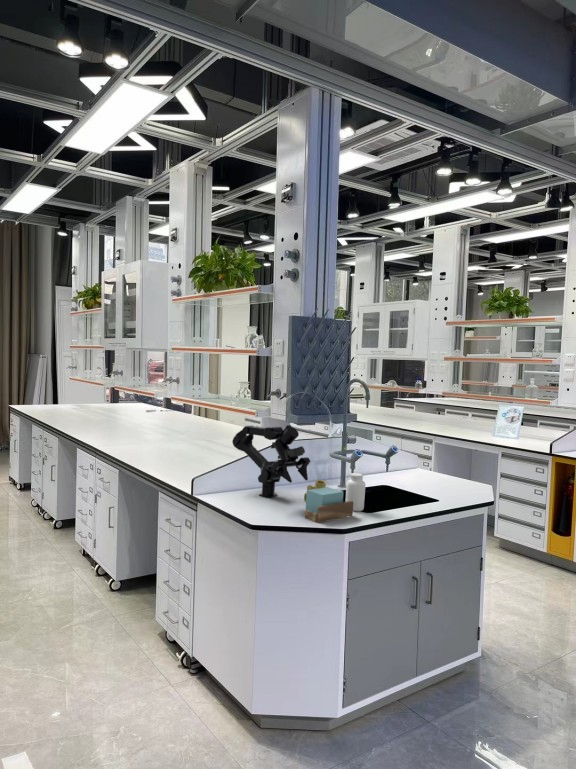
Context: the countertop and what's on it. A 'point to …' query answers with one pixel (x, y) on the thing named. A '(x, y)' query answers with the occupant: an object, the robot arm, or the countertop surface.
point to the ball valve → (316, 486)
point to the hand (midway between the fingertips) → (299, 481)
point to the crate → (322, 498)
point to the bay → (330, 512)
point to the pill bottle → (356, 491)
